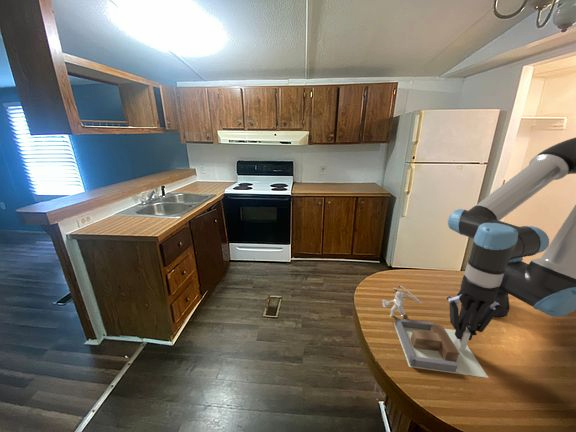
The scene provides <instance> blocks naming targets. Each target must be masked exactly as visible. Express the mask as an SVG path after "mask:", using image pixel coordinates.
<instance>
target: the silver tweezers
mask: <svg viewBox="0 0 576 432" xmlns="http://www.w3.org/2000/svg"><path fill="white" fill-rule="evenodd" d="M399 286H400V287H402V288H403V289H404V290H403V289H402V288H401V289H402V290H403V291H402V290H400V289H399V288H400V287H399V288H396V287H393V288H392V289H393V290H394V289H395V291H396V290H397V291H396V292H398V291H399V292H401V293H404V296H405V295H406V297H408V298H409V299H410V300H413V301H414V302H416V303H418V304H423V301H421V300H420V299H418V297H416V296H415V295H414V294H413V293H412V292H411V291H409V290H408V289H407V288H406V287H404V286H403V285H399ZM406 291H407V292H408V293H409V294H408V293H407V292H406ZM410 294H411V295H412V296H411V295H410Z"/></svg>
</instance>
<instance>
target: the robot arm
mask: <svg viewBox="0 0 576 432" xmlns="http://www.w3.org/2000/svg"><path fill="white" fill-rule="evenodd" d="M571 174H572V175H574V174H575V175H576V137H573V138H570V139H567V140H564V141H560V142H558V143H556V144H554V145H552V146H550V147H548V148H545V149H543V150H542V151H541V152H539V153H538V154H536V155H535V156H534V157H532V158H531V159H530V161H529V164H528V165H527V166H526V167H524V169H522V170H521V171H519V172H518V173H516V174H515V175H513V177H512V178H510V179H509V180H508V181H506V182H505V183H504V184H502V185H501V186H500V187H498V188H496V189H495V190H494V191H493V192H491V193H490V194H489V195H488V196H486V197H484V199H482V200H481V201H480V202H478V203H477V204H476V205H474V206H473V207H471V208H470V209H468V210H467V209H463V208H462V209H461V208H458V209H455V210H453V211H452V212H451V214H450V215H449V216H448V219H447V225H448V228H449V229H450V230H452V231H453V232H456V233H457V234H459V235H462V236H464V237H468V238H470V239H473V241H472V246H471V250H470V253H469V257H468V260H467V264H466V266H465V270H464V275H463V277H462V280H461V284H460V290H459V292H458V293H457V294H456V296H454V297H452V296H451V295H450V296H447V297H446V300H447V302H448V303H449V322H450V324H451V326H452V327H453V330H456V331H455V336H456V340H455V343H456V345H457V347H458V348H459V350H465V349H466V346H468V343H469V341H471V340H473V339H472V338H473V336H477V335H478V334H477V332H478V333H483V332H484V331H485V329H486V328H487V327H488V325H489V324H490V322H492V320H493V319H503V318H506V317H507V316H508V314H509V312H510V310H511V309H510V301H509V300H510V298H509V295H510V296H512V297H514V298H516V299H518V300H520V301H521V302H523V303H524V304H525V303H526V304H527V305H529V306H530V307H533V309H535V310H537V311H540V312H541V313H544V314H545V315H548V316H549V317H556V318H558V317H559V318H560V317H564V316H567V315H569V314H570V313H572V312H574V311H576V204H575V205H574V206H573V207H572V210H571V211H570V212H569V214H568V216H567V217H566V219H565V220H564V222H563V223H562V224H561V227H560V228H559V229H558V231H557V232H556V234H555V236H554V237H553V239H552V240H551V242H550V239H549V236H548V234H547V233H546V231H544V230H542V229H541V228H539V227H537V226H531V225H530V226H529V225H523V226H517V225H515V224H514V225H513V224H511V223H507V222H505V221H502V219H504V218H505V217H507V216H508V215H509V214H510V213H512V212H513V211H515V210H516V209H517V208H518V207H520V206H521V205H523V204H524V203H525V202H526V201H528V200H529V199H530V198H532V197H533V196H534V195H536V194H537V193H538V192H540V191H542V189H543V188H545V187H547V186H548V185H549V184H551V182H553V181H556V180H561V179H563V178H564V177H567V175H571ZM542 252H544V253H542ZM539 253H542V255H541V257H538V258H534V259H531V260H530V261H529V262H528V263H526V262H524V261H523V259H524V258H526V257H532V256H535V255H537V254H539ZM459 306H460V310H459Z"/></svg>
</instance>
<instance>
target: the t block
mask: <svg viewBox="0 0 576 432" xmlns="http://www.w3.org/2000/svg"><path fill="white" fill-rule="evenodd" d="M445 329H446V328H445V327H444V326H443V325H442V324H435V323H434V324H432V326H431V330H430V332H424V331H416V330H413V331H412V335H411V342H412V345H413V347H414V348H417V349H425V350H433V351H439V353H440V355H441V357H442V359H443V360H445V361H453V362H456V361H457V358H458V355H459V352H458V350H457V349H456V347H455V345H454V344H453V342H452V340H451V339H450V337H449V335H448V334H447V332H446V331H445Z"/></svg>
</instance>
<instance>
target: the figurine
mask: <svg viewBox="0 0 576 432" xmlns="http://www.w3.org/2000/svg"><path fill="white" fill-rule="evenodd" d="M404 293H405V292H404ZM404 293H403V292H402V293H401V292H399V291H396V292H395V296H394V299H392V300H389V301H388V300H386V299H382V300H381V303H382V307H383V308H387V307H388V306H390V303H393V304H394V305H393V306H391V309H390V315H389V317H394V315H395V311H396V310H397V311H398V313H399V314H400V315H401V317H405V316H406V315H407V313H406V312H405V311H403V310H404V309H405V308H404V302H406V298H404V297H405V295H404Z"/></svg>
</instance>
